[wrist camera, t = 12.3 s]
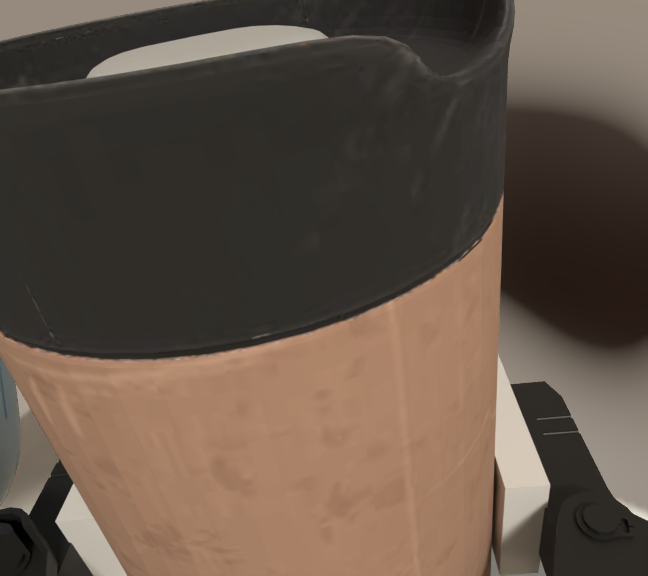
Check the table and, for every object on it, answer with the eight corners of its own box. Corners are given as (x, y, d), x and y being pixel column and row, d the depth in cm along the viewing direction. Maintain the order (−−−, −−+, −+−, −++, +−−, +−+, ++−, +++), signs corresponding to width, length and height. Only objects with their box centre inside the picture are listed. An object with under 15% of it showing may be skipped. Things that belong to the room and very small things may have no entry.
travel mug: (239, 607, 20) (-4, 34, 10) (434, 559, 21) (404, -35, 10) (248, 905, 14) (-444, 178, 3) (529, 827, 14) (717, -27, 4)
